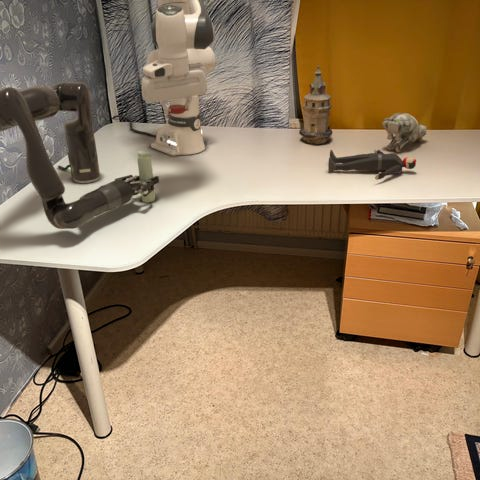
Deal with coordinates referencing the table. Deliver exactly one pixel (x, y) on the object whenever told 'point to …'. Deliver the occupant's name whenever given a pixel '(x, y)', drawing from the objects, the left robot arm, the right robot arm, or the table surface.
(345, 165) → the toy
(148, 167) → the olive green cylinder
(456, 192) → the table surface
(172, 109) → the lid
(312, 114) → the miniature building
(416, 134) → the figurine
